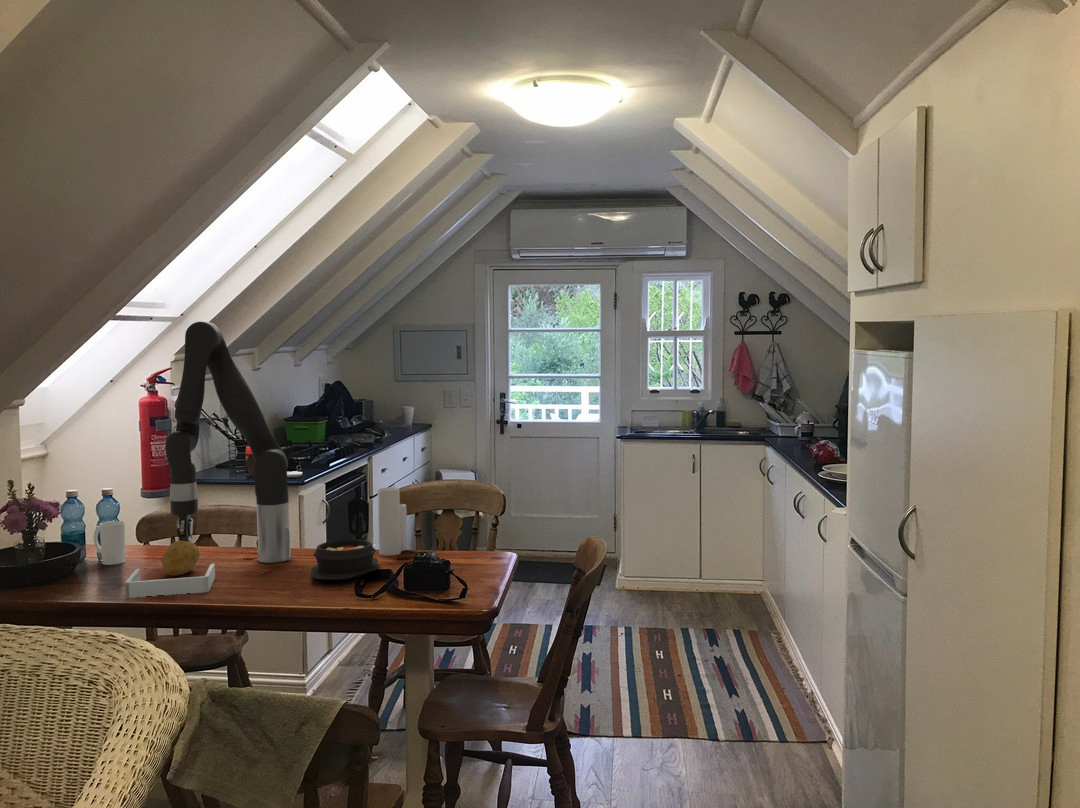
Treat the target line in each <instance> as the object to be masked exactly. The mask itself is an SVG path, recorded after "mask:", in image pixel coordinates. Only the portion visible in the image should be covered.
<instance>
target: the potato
mask: <svg viewBox="0 0 1080 808" xmlns="http://www.w3.org/2000/svg"><path fill="white" fill-rule="evenodd" d="M199 559H200V549H199V547H198V546H197V544H195V543H194V542H192V541H191V542H189V541H179V540H176V541H174V542H172V543H171V544H169V545H168V547H167V548H166V550H165V552H164V553H163V555H162V559H161V565H162V568H163V571H164V572H165V573H166V574H167V575H169V576H172V577H173V576H176V577H177V576H178V577H179V576H182V575H185V574H188V573H189V572H190V571H192V569H193V568H194V567H195V566H196V565H197V563H198V561H199Z"/></svg>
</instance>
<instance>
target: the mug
mask: <svg viewBox="0 0 1080 808" xmlns="http://www.w3.org/2000/svg"><path fill="white" fill-rule="evenodd" d="M125 526H126V524H125V521H124V520H110V521H103V522H101V523H99V525H95V529H94V532H93V544H94V547H95V549H96V552H97V554H98V553H100V554H101V563H102V565H105V566H116V565H120V564H124V563H125V562H126V527H125ZM98 536H99V537H100V543H99V539H98Z"/></svg>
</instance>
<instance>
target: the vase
mask: <svg viewBox="0 0 1080 808" xmlns="http://www.w3.org/2000/svg"><path fill="white" fill-rule="evenodd" d="M400 492H401V490H400V488H399V487H395V486H386V487H385V486H383V487H379V488H377V515H378V518H377V519H378V520H377V521H378V553H379V555H380V556H384V557H385V556H389V557H391V556H398V555H400V554H401V553H402V552H404V551H407V550H408V528H407V527H408V523H407V522H408V521H407V519H408V518H407V517H408V516H407V504H405V503H401V501H400V500H401V499H400V498H401V497H400V496H401V495H400V494H401V493H400Z"/></svg>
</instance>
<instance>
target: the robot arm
mask: <svg viewBox="0 0 1080 808" xmlns="http://www.w3.org/2000/svg"><path fill="white" fill-rule="evenodd" d="M184 335H185V336H184V359H183V361H184V362H183V370H182V376H181V380H180V386H179V389H178V395H177V399H176V400H177V401H176V405H175V409H174V419H175V420H176V426H175V427H176V428H175V431H173V432H171V433H170V434H169V435H167V436H166V437H167V438H166V440H165V454H166V458H167V463H168V466H169V478H170V479H169V481H170V482H169V483H170V488H169V503H170V506H169V507H170V514H171V515H172V516H178V520H177V521H176V528H177V529H176V532H177V536H178V541H189V542H192V539H193V525H194V520H193V519H194V518H191V517H192V516H193V515H196V514H197V513H198V512H199V497H198V496H199V495H198V494H199V493H198V486H197V473H196V470H197V468H196V465H195V464H194V463H193V462H192V458H191V457H192V456H191V455H192V454H191V452H193V451H194V450H195V449H196V447H197V445H198V443H199V439H200V418H201V416H202V415H201V414H202V411H203V404H204V399H205V391H206V389H205V385H206V383H205V382H206V381H205V380H206V373H207V368H208V370H209V373H210V375H211V378H212V381H213V386H214V389H215V392H216V395H217V397H218V400H219V402H220V404H221V407H223V410H224V412H225V414H226V415H227V417H228V419H229V420H230V421H231V423H232V424H233V426H234V427H235V428H236V429H237V431H238V432H239V433H240V435H242V437H243V438H244V439H245V441H246V442H247V445H248V446H249V447H248V448H250V451H251V453H252V455H253V458H254V460H255V461H254V464H253V467H254V468H253V471H254V475H253V476H254V494H255V497H256V499H255V500H256V525H257V527H256V528H257V529H256V532H257V555H258V562H260V563H265V564H266V563H267V564H268V563H269V564H270V563H271V564H273V563H282V562H286V561H291V557H292V555H291V554H292V553H291V550H292V549H291V525H290V505H289V504H290V503H289V497H290V496H289V491H288V467H289V461H288V457H287V455H286V454H285V452H284V451H283V449H282V448H281V446H280V445H279V443H278V442H277V440H276V439H275V438H274V436H273V434H272V432H271V430H270V428H269V426H268V425H267V422H266V419H265V416H264V415H263V412H262V410H261V407H260V405H259V403H258V402H257V401H258V400H257V399H256V397H255V395H254V394H253V392H252V390H251V388H250V387H249V384H248V383H247V381H246V380H245V378H244V376H243V374H242V373H241V371H240V370H239V368H238V367H237V364H236V363H235V362H234V360H233V357H232V356H231V353H230V350H229V348H228V346H227V343H226V341H225V338H224V335H223V333H222V330H221V329H220V327H218V325H217V324H215V323H213V322H210V321H201V320H199V321H195V322H193V323H192V324H190V325H189V326H188V327H187V329H186V330H185V334H184Z"/></svg>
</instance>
